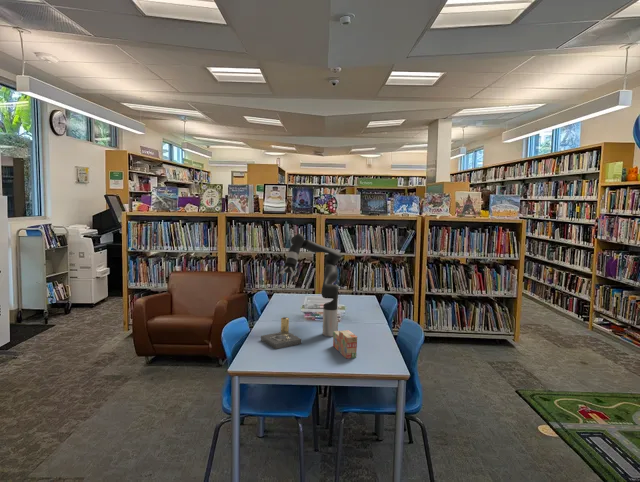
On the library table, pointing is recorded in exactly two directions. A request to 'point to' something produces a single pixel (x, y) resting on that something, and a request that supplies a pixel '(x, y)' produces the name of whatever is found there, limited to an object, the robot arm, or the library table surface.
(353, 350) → the stack of blocks
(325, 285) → the robot arm
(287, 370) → the library table surface
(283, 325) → the brass sleeve
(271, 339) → the plate
